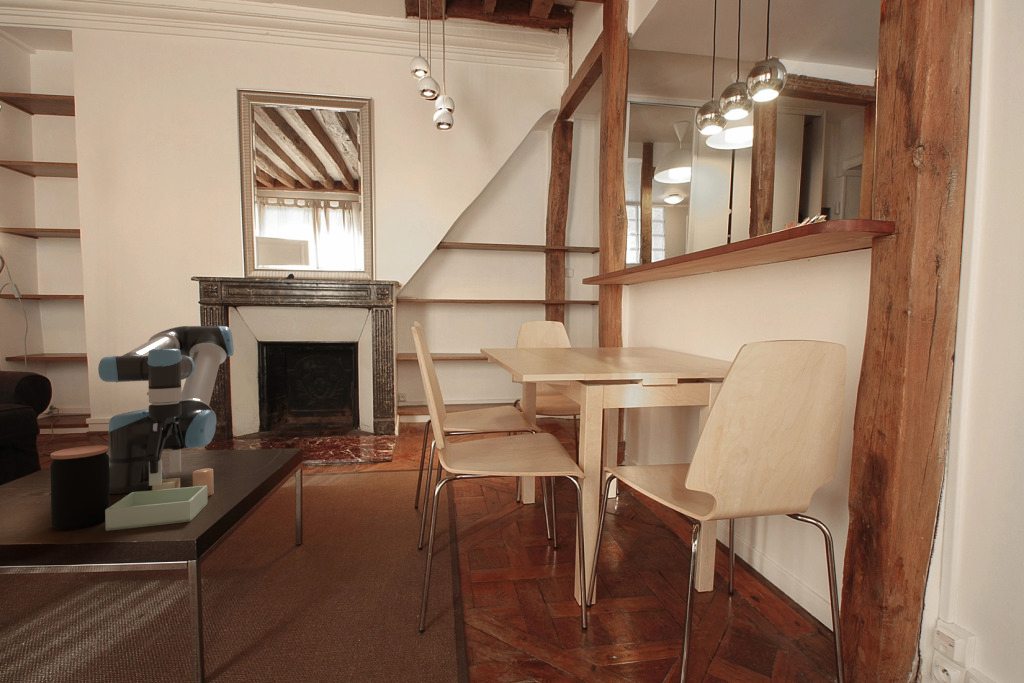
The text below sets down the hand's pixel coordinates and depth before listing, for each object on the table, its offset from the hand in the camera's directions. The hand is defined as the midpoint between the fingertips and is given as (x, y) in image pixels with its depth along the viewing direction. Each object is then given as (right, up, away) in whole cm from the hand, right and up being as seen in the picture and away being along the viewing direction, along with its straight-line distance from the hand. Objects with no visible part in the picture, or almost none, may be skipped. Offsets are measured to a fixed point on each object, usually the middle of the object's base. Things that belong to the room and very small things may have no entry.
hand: (166, 478), depth 132 cm
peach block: (+9, -6, +3) cm, 11 cm away
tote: (+8, -6, -13) cm, 17 cm away
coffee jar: (-8, -6, -17) cm, 20 cm away
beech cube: (0, -6, 0) cm, 6 cm away
